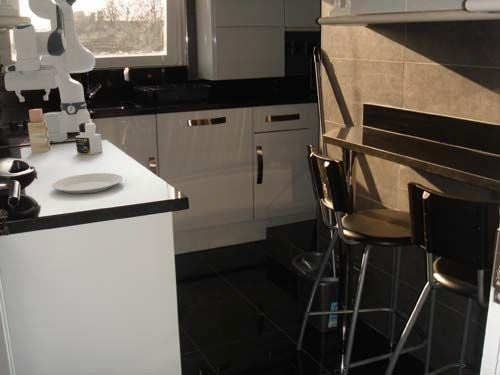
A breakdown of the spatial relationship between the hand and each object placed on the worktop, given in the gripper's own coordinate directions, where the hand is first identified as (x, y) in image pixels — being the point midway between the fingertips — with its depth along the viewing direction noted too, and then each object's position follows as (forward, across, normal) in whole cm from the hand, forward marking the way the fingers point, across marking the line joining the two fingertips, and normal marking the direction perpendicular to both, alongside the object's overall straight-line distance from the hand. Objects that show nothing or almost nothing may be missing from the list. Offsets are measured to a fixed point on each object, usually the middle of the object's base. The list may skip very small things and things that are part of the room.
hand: (34, 100), depth 238 cm
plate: (+20, -32, +68) cm, 78 cm away
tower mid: (+17, 0, 0) cm, 17 cm away
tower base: (+21, 0, 0) cm, 21 cm away
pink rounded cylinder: (+9, 0, 0) cm, 9 cm away
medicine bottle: (+21, -22, +12) cm, 32 cm away
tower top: (+13, 0, 0) cm, 13 cm away
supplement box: (+21, -1, -22) cm, 31 cm away
